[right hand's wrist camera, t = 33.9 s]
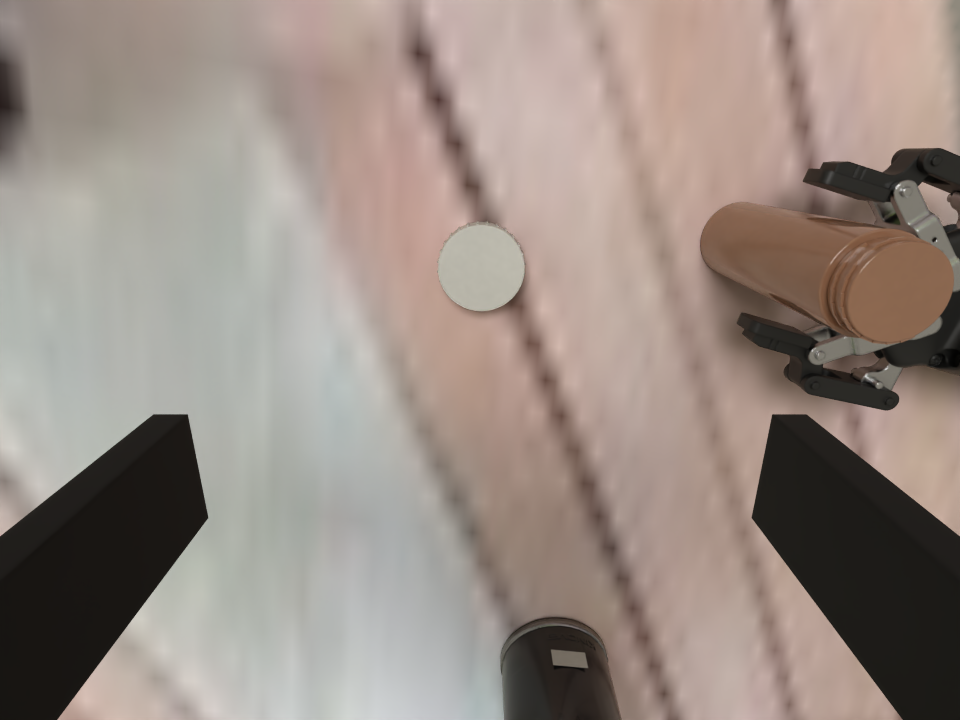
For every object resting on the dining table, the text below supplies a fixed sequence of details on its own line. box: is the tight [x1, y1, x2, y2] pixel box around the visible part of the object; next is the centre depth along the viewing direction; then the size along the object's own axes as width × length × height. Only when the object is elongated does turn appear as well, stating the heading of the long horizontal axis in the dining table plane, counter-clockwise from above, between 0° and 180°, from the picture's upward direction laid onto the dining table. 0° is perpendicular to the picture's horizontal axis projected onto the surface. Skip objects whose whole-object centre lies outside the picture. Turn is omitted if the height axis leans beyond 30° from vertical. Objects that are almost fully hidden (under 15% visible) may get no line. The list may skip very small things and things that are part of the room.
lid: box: [437, 221, 525, 311], centre depth 37 cm, size 6×6×2 cm
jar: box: [701, 202, 954, 345], centre depth 30 cm, size 5×5×16 cm
